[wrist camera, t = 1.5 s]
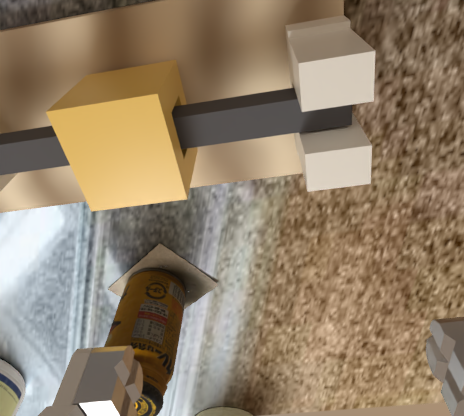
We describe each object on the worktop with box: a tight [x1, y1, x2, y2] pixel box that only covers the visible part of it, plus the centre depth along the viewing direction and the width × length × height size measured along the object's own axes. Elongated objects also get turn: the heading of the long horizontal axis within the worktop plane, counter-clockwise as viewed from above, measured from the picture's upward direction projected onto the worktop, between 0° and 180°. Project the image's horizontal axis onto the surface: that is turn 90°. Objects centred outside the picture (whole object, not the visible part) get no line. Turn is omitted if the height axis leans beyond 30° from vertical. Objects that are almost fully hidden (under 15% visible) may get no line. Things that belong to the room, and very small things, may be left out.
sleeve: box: [46, 60, 198, 211], centre depth 24 cm, size 6×6×6 cm
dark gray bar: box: [0, 88, 352, 175], centre depth 24 cm, size 26×2×2 cm, turn 100°
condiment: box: [104, 243, 218, 416], centre depth 34 cm, size 7×8×12 cm
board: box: [0, 0, 344, 213], centre depth 28 cm, size 29×13×1 cm, turn 100°
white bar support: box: [285, 15, 375, 192], centre depth 23 cm, size 4×8×7 cm, turn 9°
